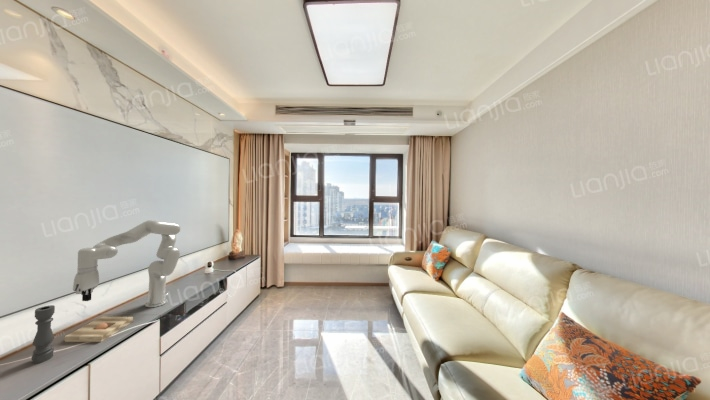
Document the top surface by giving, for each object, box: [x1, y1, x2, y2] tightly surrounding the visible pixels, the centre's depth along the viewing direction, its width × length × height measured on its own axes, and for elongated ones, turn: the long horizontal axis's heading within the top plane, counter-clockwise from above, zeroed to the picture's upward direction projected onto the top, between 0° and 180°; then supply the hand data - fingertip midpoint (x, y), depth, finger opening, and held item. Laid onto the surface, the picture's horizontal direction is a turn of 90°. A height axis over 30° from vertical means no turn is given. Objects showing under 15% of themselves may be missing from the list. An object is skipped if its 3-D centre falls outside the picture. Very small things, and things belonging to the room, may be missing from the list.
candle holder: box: [31, 305, 56, 365], centre depth 110 cm, size 6×6×25 cm
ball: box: [95, 323, 108, 329], centre depth 133 cm, size 5×5×5 cm
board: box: [64, 316, 134, 343], centre depth 134 cm, size 20×18×3 cm
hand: (86, 300), depth 133 cm, fingers closed
